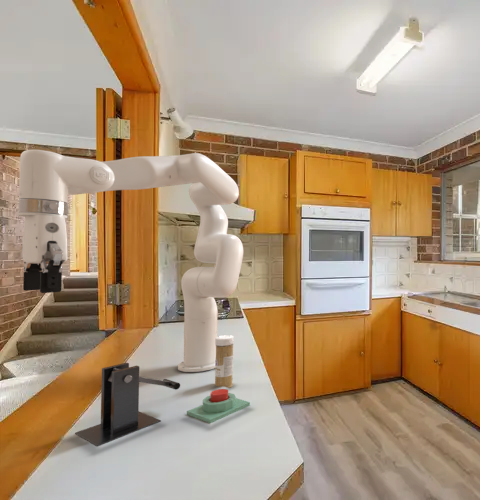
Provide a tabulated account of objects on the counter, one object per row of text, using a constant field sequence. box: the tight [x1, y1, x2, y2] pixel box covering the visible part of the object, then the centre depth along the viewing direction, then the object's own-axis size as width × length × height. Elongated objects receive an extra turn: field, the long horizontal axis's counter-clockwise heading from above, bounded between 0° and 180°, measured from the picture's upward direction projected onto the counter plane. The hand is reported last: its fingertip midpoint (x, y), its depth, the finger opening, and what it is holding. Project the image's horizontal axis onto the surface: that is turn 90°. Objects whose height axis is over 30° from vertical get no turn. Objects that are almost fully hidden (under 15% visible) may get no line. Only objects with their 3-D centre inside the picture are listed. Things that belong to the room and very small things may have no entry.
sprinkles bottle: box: [214, 334, 235, 389], centre depth 93 cm, size 5×5×14 cm
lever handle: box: [108, 368, 181, 391], centre depth 73 cm, size 13×5×2 cm, turn 150°
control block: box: [186, 392, 251, 424], centre depth 77 cm, size 10×8×4 cm
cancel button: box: [209, 388, 229, 402], centre depth 77 cm, size 4×4×2 cm
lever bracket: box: [74, 362, 162, 447], centre depth 69 cm, size 11×9×13 cm
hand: (41, 291), depth 74 cm, fingers open, 9 cm apart
